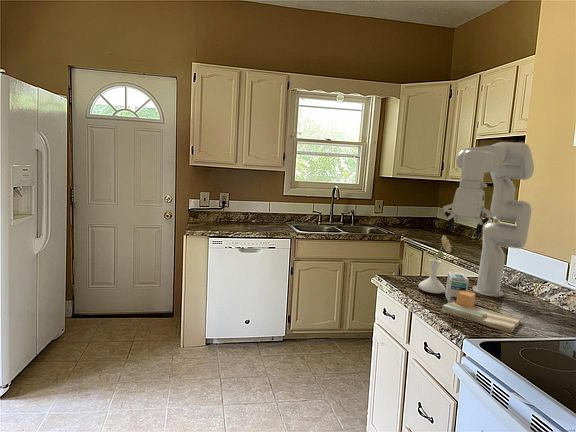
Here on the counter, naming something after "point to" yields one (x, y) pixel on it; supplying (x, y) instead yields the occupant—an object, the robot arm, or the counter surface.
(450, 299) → the light bulb box
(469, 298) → the stub
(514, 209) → the robot arm
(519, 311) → the counter surface
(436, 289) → the flower in vase
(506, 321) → the board
